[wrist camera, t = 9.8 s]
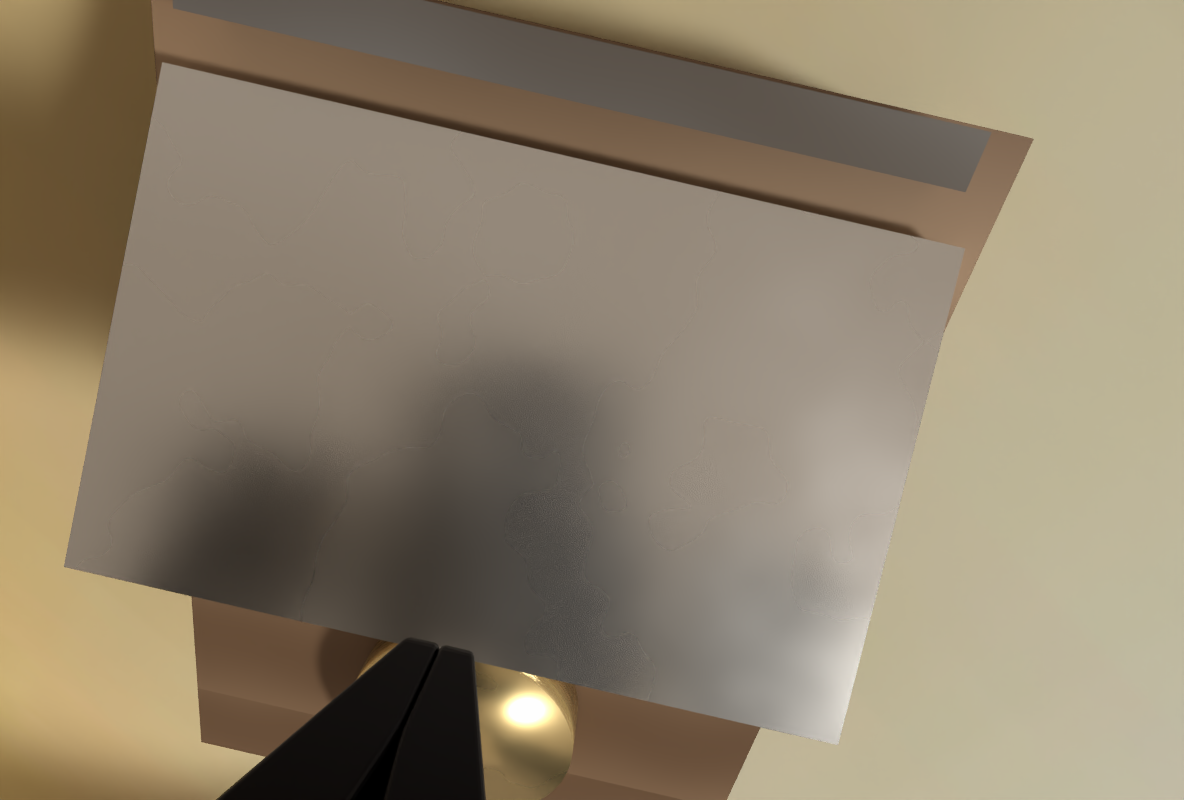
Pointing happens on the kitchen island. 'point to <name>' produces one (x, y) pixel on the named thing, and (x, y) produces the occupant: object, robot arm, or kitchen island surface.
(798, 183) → the brown box
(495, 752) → the gold metal dome
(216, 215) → the steel flap
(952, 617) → the kitchen island surface
